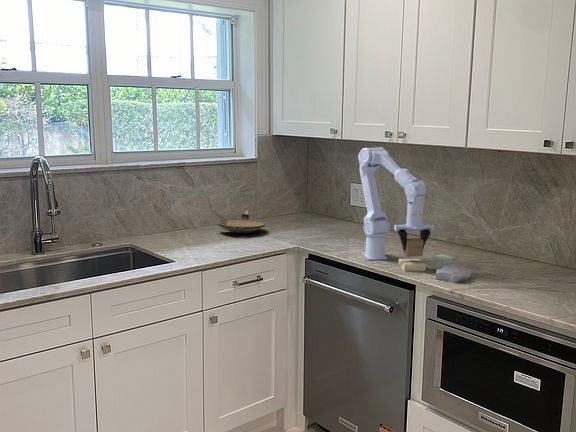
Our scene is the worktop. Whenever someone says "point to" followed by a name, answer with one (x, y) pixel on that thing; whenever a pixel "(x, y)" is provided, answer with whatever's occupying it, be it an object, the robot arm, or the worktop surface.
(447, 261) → the sage cube
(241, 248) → the worktop surface
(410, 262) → the oak block
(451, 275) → the stone block
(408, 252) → the walnut cube
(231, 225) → the oil lamp
